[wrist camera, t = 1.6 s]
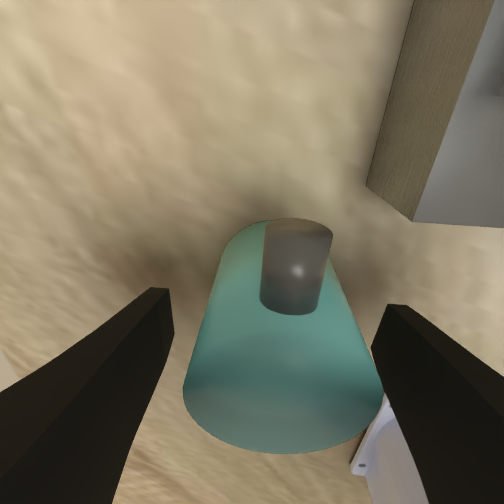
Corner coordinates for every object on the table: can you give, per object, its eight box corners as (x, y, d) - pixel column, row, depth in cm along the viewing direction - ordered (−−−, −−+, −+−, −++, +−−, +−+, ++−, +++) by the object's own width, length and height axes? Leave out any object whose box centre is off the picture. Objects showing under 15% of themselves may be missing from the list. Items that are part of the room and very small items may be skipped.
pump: (318, 315, 13) (355, 460, 8) (220, 308, 13) (188, 446, 8) (349, 181, 10) (449, 269, 4) (219, 173, 10) (165, 249, 4)
